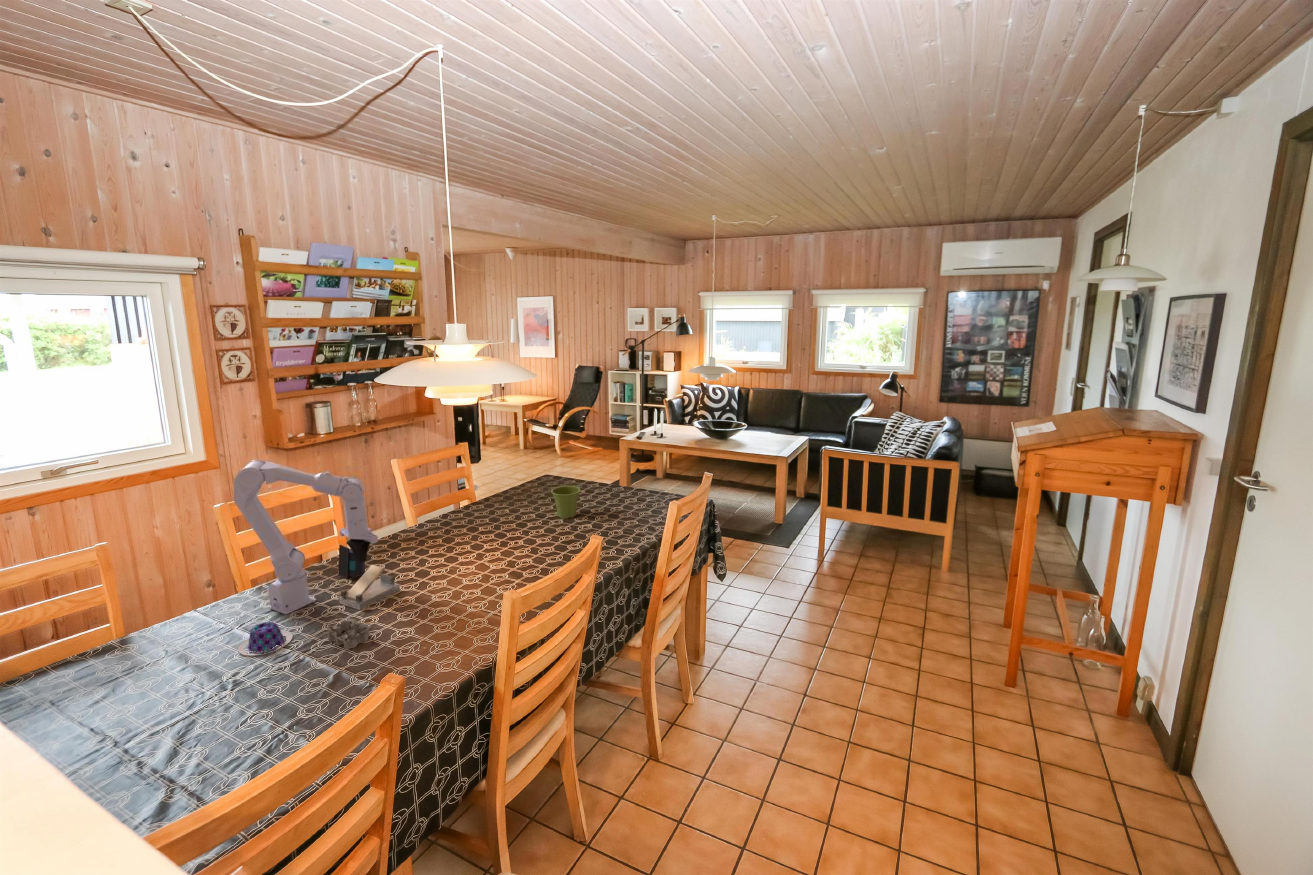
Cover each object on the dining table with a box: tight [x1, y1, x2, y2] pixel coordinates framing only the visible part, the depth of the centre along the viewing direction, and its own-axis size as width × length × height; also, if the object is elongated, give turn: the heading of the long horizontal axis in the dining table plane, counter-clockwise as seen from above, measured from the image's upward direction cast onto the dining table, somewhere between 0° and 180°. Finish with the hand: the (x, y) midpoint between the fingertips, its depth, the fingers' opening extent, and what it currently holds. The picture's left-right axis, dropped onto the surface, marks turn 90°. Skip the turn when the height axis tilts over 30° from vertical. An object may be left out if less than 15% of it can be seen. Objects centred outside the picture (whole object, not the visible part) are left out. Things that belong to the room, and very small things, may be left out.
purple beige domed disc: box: [238, 621, 293, 656], centre depth 158 cm, size 12×12×5 cm
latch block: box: [338, 573, 401, 611], centre depth 183 cm, size 14×9×4 cm, turn 153°
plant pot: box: [550, 485, 581, 519], centre depth 251 cm, size 12×12×11 cm
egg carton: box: [324, 618, 371, 649], centre depth 161 cm, size 11×8×4 cm
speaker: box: [338, 544, 366, 581], centre depth 197 cm, size 8×6×10 cm
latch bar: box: [345, 564, 385, 600], centre depth 181 cm, size 12×5×1 cm
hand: (361, 561), depth 184 cm, fingers closed
